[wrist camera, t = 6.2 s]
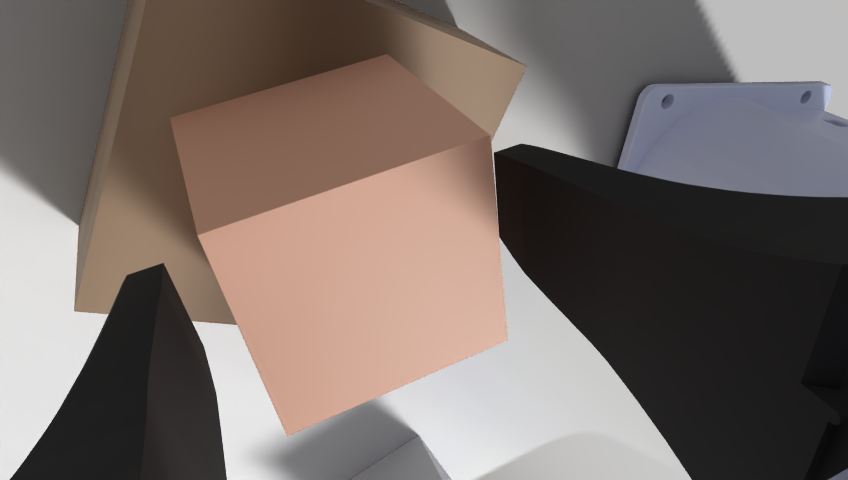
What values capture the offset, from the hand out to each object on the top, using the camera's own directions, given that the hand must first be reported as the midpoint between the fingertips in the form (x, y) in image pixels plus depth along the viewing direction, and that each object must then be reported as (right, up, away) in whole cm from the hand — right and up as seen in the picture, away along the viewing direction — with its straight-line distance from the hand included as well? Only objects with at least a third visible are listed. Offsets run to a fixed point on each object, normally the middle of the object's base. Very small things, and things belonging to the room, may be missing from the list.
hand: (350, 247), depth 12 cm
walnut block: (-3, +3, +5) cm, 7 cm away
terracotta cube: (-1, +1, +2) cm, 3 cm away
